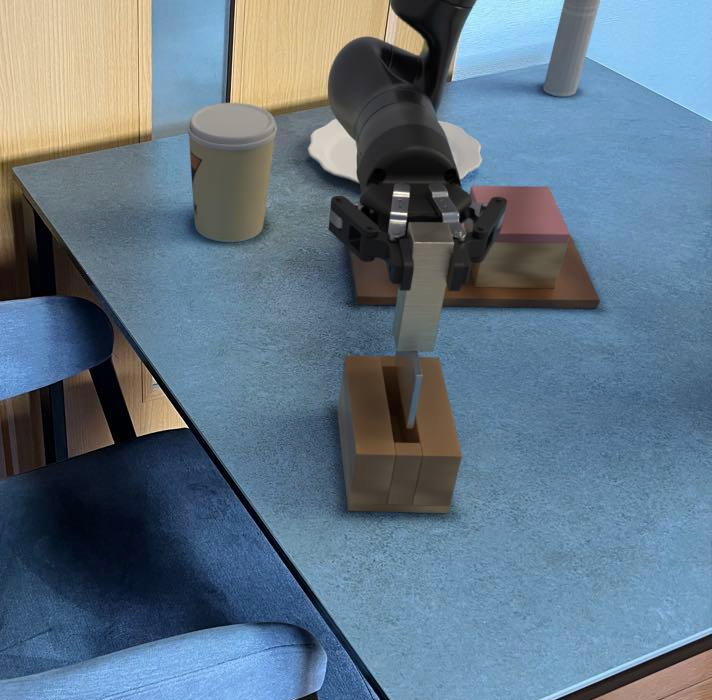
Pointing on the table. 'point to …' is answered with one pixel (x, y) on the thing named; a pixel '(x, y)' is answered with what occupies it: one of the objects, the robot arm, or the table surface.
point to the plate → (341, 151)
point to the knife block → (396, 439)
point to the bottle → (570, 46)
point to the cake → (505, 260)
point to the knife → (420, 307)
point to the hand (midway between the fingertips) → (432, 279)
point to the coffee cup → (230, 169)
